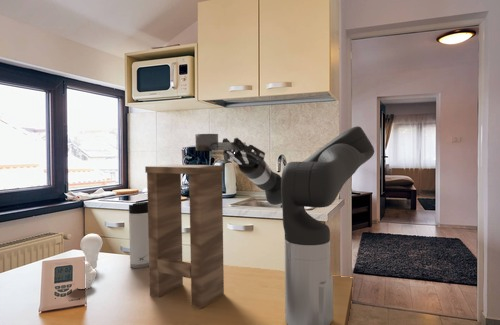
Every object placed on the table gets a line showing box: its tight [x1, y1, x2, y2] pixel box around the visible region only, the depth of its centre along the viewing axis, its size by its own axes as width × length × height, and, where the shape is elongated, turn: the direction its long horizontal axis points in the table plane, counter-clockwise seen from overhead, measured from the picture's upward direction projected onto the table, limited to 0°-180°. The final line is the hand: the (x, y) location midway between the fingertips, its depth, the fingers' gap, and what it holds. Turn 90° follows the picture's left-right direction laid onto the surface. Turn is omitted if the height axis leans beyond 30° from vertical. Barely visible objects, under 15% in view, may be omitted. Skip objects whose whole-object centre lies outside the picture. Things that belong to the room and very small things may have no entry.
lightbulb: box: [79, 233, 104, 269], centre depth 105 cm, size 6×6×11 cm
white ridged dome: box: [84, 261, 97, 290], centre depth 91 cm, size 6×6×7 cm
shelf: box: [144, 164, 225, 310], centre depth 86 cm, size 16×10×32 cm, turn 61°
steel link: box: [195, 133, 247, 152], centre depth 93 cm, size 6×20×4 cm, turn 151°
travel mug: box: [128, 201, 149, 269], centre depth 109 cm, size 6×7×20 cm
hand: (229, 140), depth 96 cm, fingers closed on steel link, 3 cm apart
